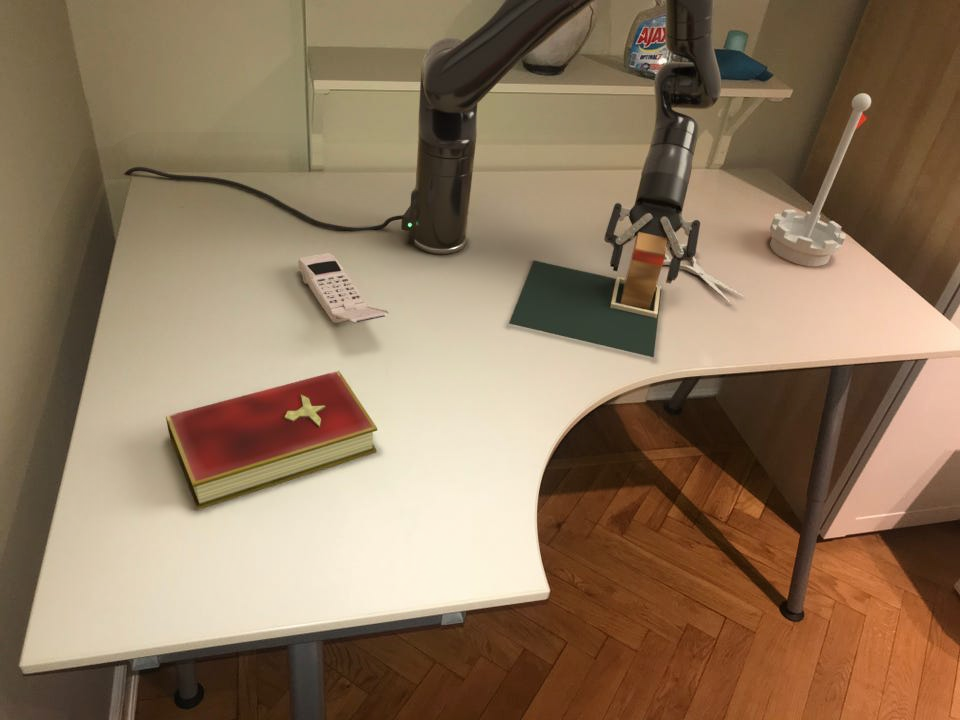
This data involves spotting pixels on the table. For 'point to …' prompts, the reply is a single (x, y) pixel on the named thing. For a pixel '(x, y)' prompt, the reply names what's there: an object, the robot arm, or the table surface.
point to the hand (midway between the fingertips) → (642, 276)
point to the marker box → (644, 270)
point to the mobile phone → (336, 290)
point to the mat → (585, 309)
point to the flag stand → (816, 210)
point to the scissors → (700, 273)
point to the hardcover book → (269, 437)
